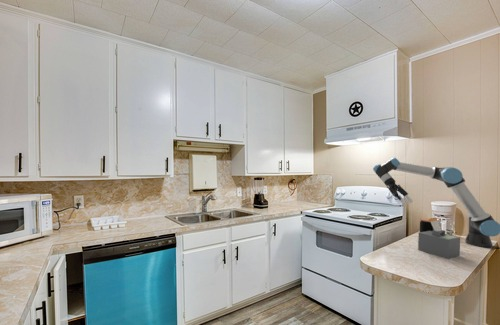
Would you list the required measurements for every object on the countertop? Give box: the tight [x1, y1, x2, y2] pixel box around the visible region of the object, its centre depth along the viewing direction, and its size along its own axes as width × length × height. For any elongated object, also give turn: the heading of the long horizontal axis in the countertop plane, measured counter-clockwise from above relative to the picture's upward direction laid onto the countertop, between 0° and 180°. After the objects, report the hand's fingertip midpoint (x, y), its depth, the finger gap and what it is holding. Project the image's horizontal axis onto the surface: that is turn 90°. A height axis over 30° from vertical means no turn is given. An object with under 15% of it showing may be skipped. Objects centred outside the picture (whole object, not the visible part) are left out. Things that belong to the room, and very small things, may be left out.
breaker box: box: [417, 229, 461, 260], centre depth 164 cm, size 14×18×15 cm
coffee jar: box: [419, 217, 434, 232], centre depth 185 cm, size 11×11×18 cm
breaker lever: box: [428, 217, 443, 234], centre depth 166 cm, size 6×2×11 cm, turn 117°
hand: (407, 202), depth 183 cm, fingers open, 9 cm apart
